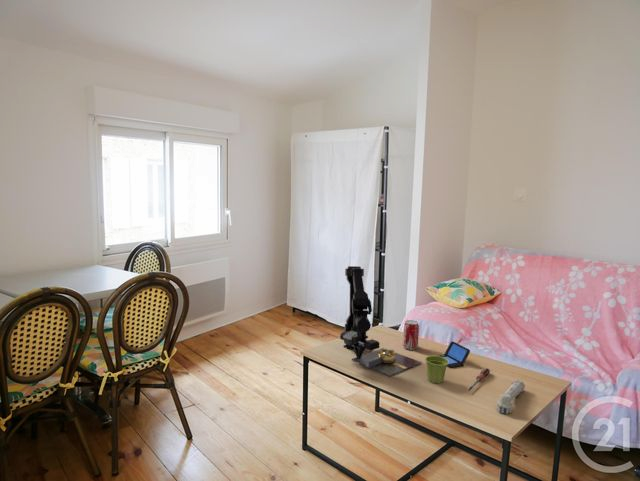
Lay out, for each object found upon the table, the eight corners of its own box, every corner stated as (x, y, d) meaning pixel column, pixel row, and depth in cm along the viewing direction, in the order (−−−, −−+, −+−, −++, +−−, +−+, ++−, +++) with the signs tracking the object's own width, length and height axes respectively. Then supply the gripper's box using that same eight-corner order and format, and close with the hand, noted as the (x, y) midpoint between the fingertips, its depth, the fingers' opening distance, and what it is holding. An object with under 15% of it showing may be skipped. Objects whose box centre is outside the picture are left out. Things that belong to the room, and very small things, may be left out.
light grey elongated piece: (527, 381, 172) (511, 396, 152) (525, 398, 173) (509, 415, 152) (513, 378, 176) (496, 391, 155) (511, 394, 176) (493, 410, 156)
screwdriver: (472, 395, 168) (472, 388, 168) (464, 393, 170) (464, 385, 170) (491, 374, 188) (491, 367, 188) (484, 372, 190) (484, 365, 189)
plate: (351, 360, 199) (351, 358, 198) (383, 349, 213) (383, 348, 213) (389, 376, 182) (390, 375, 182) (421, 363, 197) (421, 362, 197)
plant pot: (448, 377, 183) (449, 357, 182) (446, 387, 174) (448, 366, 173) (425, 374, 186) (426, 354, 185) (422, 383, 177) (423, 362, 176)
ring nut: (385, 354, 203) (385, 347, 203) (399, 360, 197) (399, 352, 197) (360, 363, 192) (360, 355, 191) (374, 369, 186) (374, 361, 186)
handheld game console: (432, 358, 203) (433, 343, 203) (450, 355, 208) (451, 340, 207) (450, 369, 192) (451, 353, 191) (469, 365, 196) (471, 349, 196)
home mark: (392, 364, 194) (392, 363, 194) (395, 363, 195) (395, 362, 195) (404, 368, 189) (404, 368, 189) (407, 367, 190) (407, 367, 190)
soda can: (416, 345, 219) (418, 320, 218) (418, 351, 212) (420, 324, 210) (402, 344, 220) (403, 319, 218) (403, 350, 213) (405, 323, 211)
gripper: (331, 322, 194) (330, 356, 196) (363, 334, 181) (361, 370, 183) (349, 318, 202) (348, 351, 204) (381, 328, 188) (379, 363, 190)
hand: (358, 358), depth 195 cm, fingers closed
